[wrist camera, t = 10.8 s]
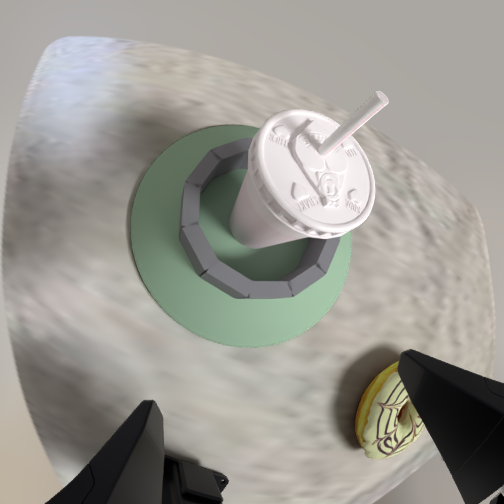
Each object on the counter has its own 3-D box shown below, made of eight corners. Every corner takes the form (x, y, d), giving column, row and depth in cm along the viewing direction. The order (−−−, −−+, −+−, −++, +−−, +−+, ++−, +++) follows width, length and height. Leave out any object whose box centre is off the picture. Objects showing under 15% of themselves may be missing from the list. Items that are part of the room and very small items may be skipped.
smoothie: (286, 186, 22) (409, 76, 9) (297, 264, 21) (462, 206, 8) (208, 184, 20) (285, 25, 7) (214, 270, 19) (334, 186, 6)
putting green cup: (294, 383, 19) (317, 394, 16) (84, 260, 16) (69, 251, 13) (369, 205, 25) (392, 193, 22) (216, 97, 22) (226, 72, 19)
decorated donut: (352, 467, 20) (375, 481, 16) (337, 389, 21) (365, 399, 17) (417, 417, 23) (441, 423, 20) (410, 341, 24) (437, 342, 21)
